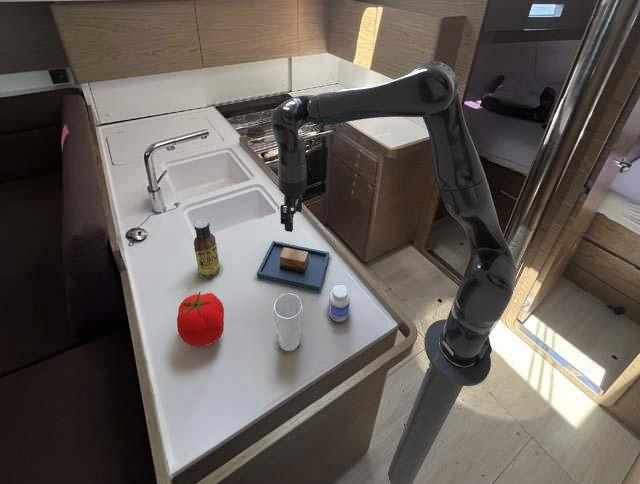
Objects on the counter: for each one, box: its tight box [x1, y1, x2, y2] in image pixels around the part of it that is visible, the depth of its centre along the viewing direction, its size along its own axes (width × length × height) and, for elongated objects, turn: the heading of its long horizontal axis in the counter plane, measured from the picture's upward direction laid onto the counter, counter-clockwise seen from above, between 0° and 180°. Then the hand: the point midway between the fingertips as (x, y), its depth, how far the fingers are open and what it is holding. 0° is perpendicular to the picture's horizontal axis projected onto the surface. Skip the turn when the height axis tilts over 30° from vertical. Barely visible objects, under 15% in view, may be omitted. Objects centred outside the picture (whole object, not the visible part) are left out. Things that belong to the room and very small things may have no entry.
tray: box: [256, 240, 330, 293], centre depth 102 cm, size 20×14×2 cm
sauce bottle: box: [193, 218, 221, 279], centre depth 96 cm, size 6×6×20 cm
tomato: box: [176, 291, 225, 347], centre depth 81 cm, size 12×12×13 cm
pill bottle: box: [328, 284, 351, 323], centre depth 87 cm, size 5×5×10 cm
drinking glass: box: [273, 292, 304, 352], centre depth 79 cm, size 7×7×15 cm
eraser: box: [280, 247, 309, 274], centre depth 101 cm, size 8×5×5 cm, turn 76°
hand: (293, 220), depth 92 cm, fingers open, 8 cm apart
